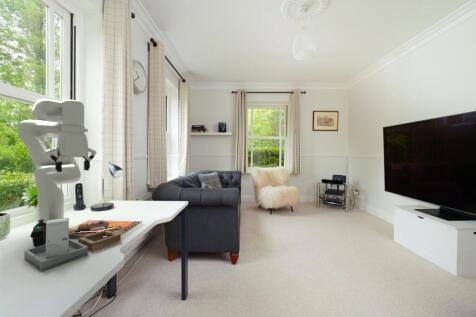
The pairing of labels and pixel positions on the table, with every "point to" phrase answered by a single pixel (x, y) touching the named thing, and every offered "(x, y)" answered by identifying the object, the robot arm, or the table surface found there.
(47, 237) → the skincare box
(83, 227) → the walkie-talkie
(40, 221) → the controller
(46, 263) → the tray
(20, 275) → the table surface
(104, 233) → the holder
